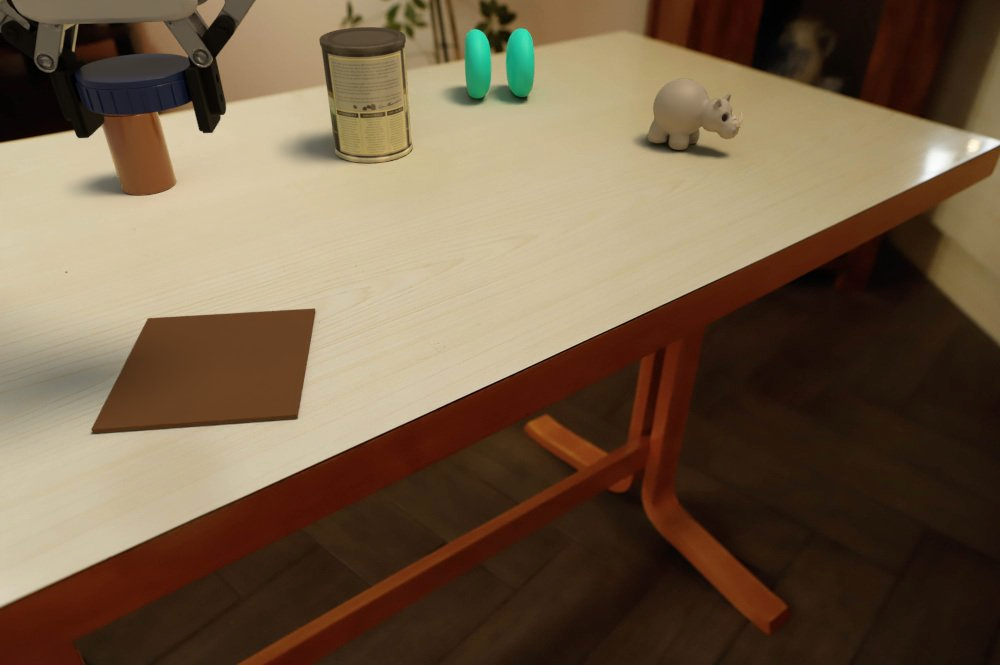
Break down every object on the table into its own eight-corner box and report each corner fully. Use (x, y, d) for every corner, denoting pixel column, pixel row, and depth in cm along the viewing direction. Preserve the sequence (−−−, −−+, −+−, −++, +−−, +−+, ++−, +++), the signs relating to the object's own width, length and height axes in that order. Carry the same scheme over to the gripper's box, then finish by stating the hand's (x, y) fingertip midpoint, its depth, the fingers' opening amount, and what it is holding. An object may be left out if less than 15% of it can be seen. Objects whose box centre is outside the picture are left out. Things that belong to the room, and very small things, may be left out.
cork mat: (92, 433, 50) (90, 429, 50) (149, 321, 62) (147, 317, 61) (297, 418, 52) (296, 414, 51) (315, 312, 63) (315, 308, 63)
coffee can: (319, 147, 95) (303, 35, 87) (383, 130, 101) (374, 22, 93) (362, 170, 89) (349, 51, 81) (428, 150, 95) (422, 37, 87)
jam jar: (115, 196, 82) (85, 104, 76) (129, 176, 87) (101, 87, 81) (170, 193, 83) (145, 101, 77) (180, 173, 88) (157, 85, 82)
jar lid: (222, 96, 45) (215, 65, 44) (115, 123, 41) (105, 90, 40) (167, 76, 49) (159, 47, 48) (64, 100, 45) (53, 68, 44)
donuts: (464, 88, 118) (463, 22, 112) (525, 86, 119) (526, 21, 113) (469, 107, 110) (468, 38, 104) (534, 105, 110) (536, 36, 105)
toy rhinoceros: (722, 166, 91) (735, 98, 86) (638, 144, 97) (646, 80, 92) (745, 150, 95) (759, 85, 90) (664, 130, 101) (673, 68, 96)
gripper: (244, -219, 40) (297, 105, 50) (-93, -221, 38) (33, 115, 48) (217, -228, 34) (283, 143, 44) (-186, -231, 32) (-20, 156, 42)
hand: (151, 126), depth 46 cm, fingers closed on jar lid, 6 cm apart
